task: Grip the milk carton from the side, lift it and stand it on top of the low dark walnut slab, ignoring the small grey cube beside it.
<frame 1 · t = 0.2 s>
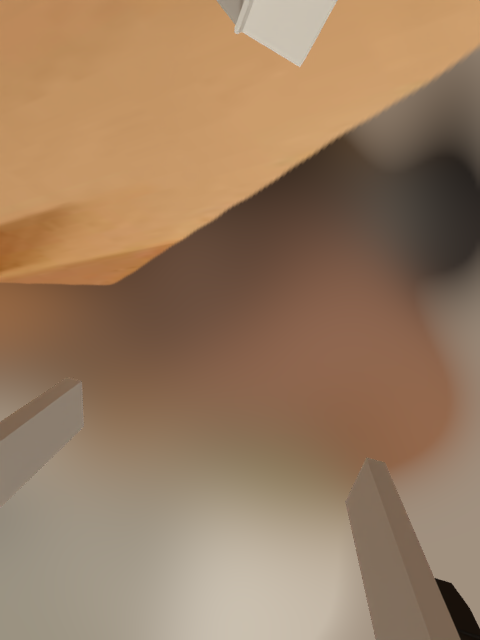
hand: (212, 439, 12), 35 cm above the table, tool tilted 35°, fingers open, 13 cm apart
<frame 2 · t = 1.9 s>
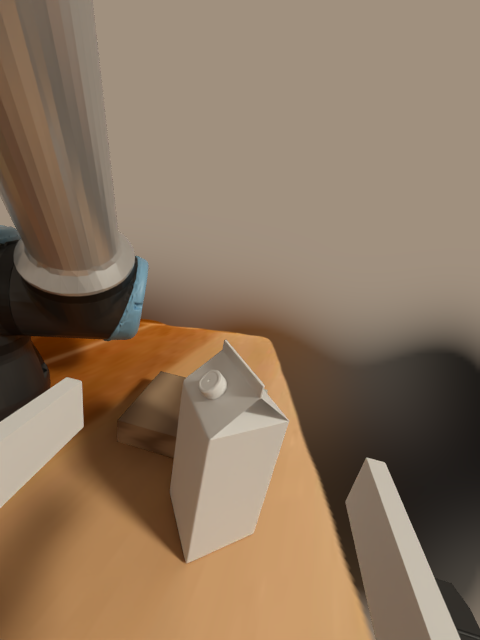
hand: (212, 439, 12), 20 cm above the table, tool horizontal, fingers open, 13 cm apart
walnut block: (178, 423, 39), on the table
milk carton: (209, 513, 28), on the table
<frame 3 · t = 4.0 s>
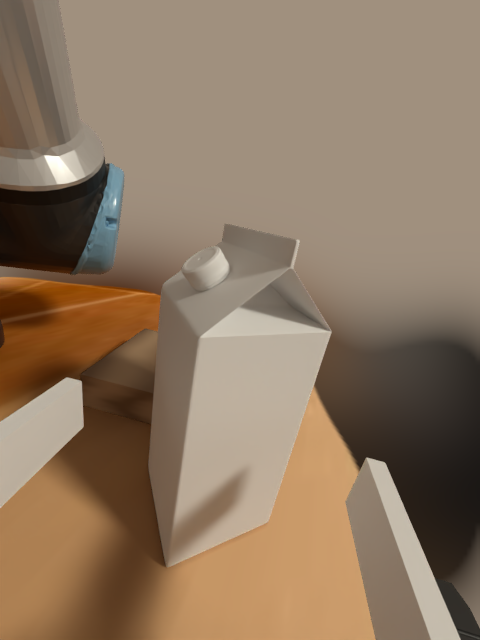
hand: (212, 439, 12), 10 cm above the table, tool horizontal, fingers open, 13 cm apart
walnut block: (165, 388, 31), on the table
milk carton: (203, 495, 20), on the table
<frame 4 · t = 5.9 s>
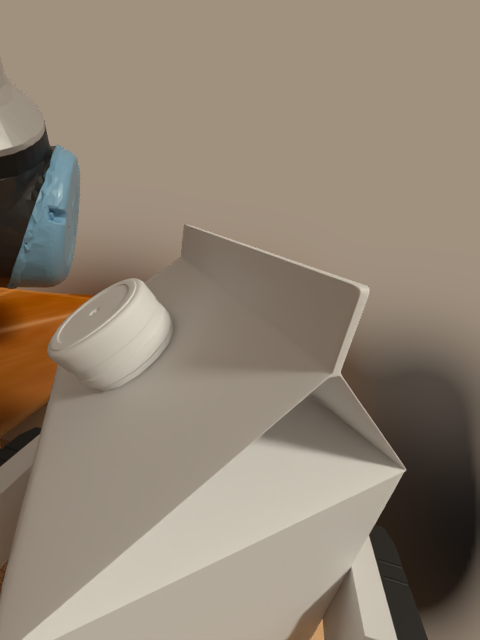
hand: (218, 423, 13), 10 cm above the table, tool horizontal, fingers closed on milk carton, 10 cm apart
walnut block: (133, 440, 23), on the table
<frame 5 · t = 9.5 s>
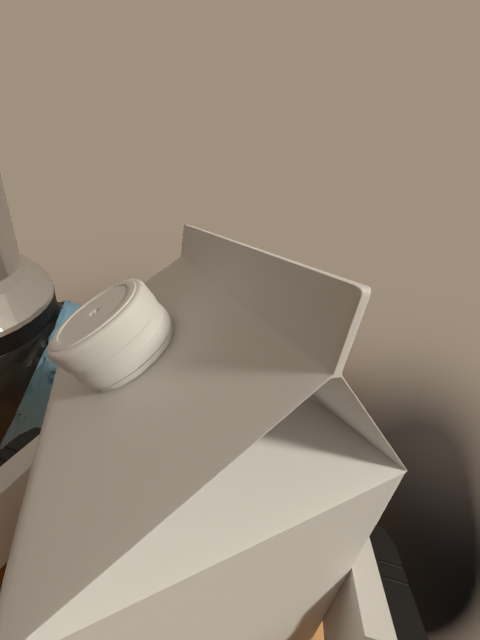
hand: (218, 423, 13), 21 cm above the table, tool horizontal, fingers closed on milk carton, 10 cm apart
when the fingers open (16 cm above the table, at t = 13.1 s): milk carton drops 3 cm, resting on walnut block.
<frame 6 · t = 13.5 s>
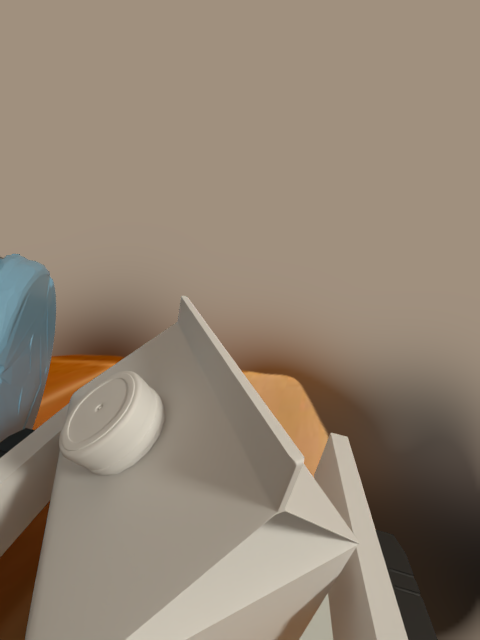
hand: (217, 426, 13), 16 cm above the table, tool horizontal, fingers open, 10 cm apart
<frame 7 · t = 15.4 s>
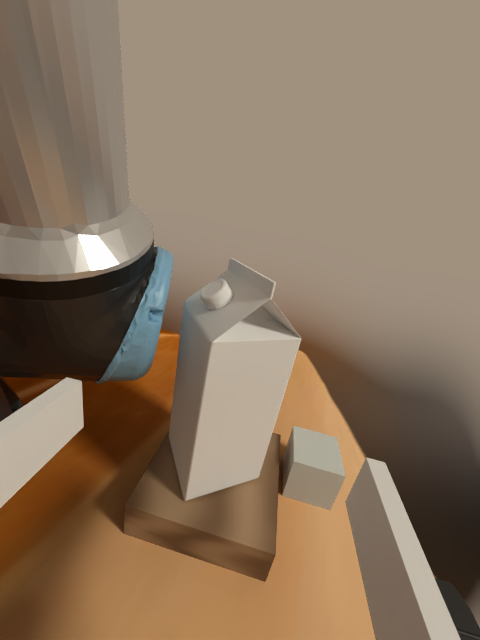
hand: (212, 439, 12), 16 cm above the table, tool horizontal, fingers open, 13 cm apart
walnut block: (212, 491, 27), on the table, touching milk carton
milk carton: (210, 458, 26), point 3 cm above the table, touching walnut block
grey cube: (304, 481, 29), on the table
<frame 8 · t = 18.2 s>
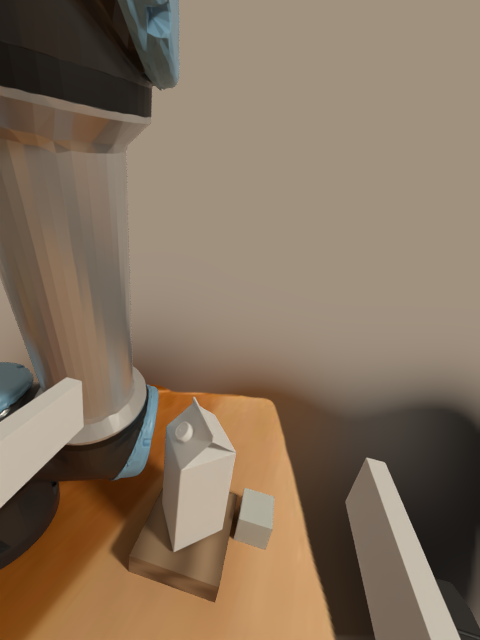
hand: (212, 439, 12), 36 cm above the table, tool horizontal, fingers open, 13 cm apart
walnut block: (187, 538, 40), on the table
milk carton: (191, 517, 39), point 3 cm above the table
grey cube: (251, 527, 42), on the table
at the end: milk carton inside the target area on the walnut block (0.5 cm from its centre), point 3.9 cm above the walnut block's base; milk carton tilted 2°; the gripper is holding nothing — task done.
